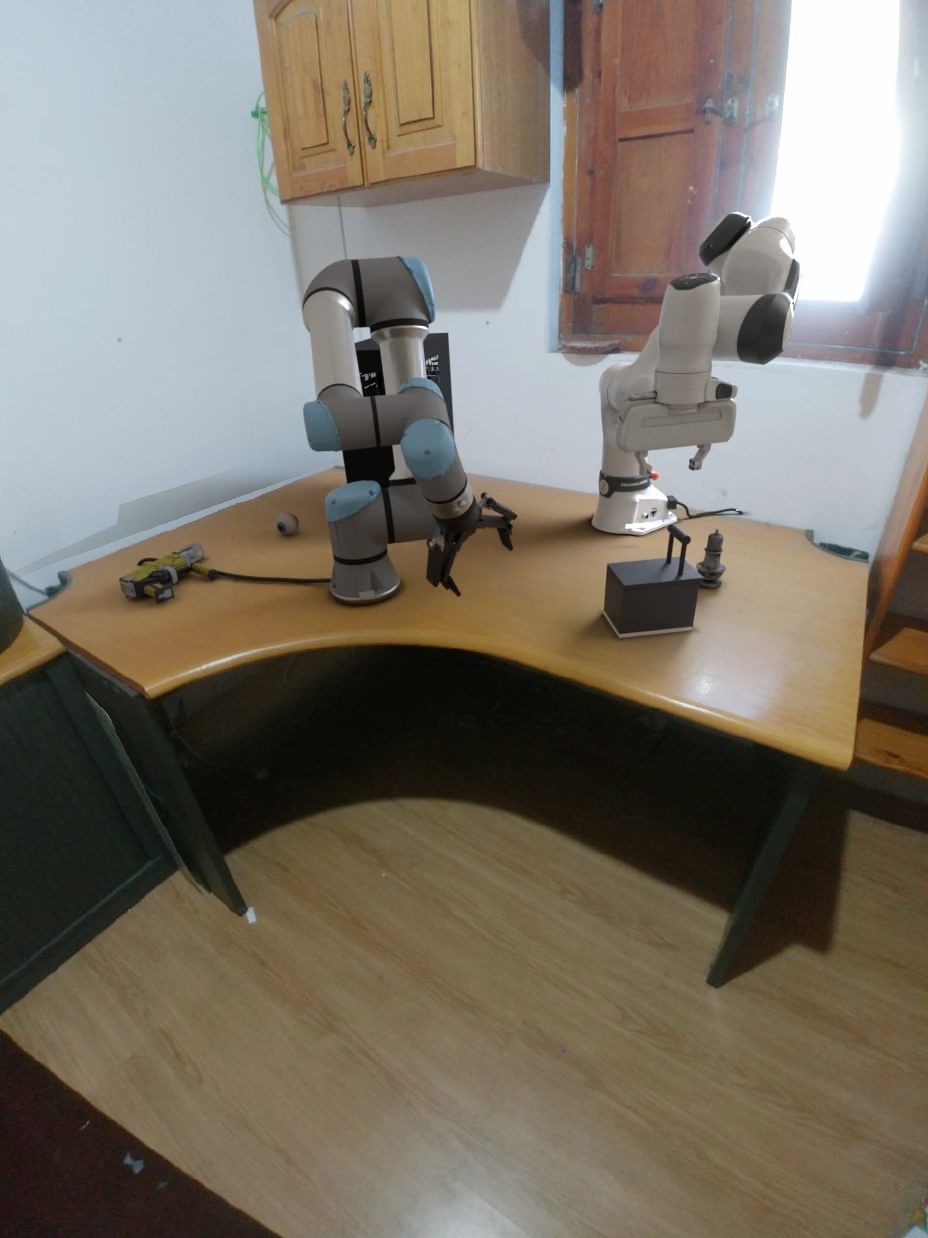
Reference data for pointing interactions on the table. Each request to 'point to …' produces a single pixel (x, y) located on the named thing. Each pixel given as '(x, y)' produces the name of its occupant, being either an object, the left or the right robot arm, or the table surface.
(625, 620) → the chest
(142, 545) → the table surface
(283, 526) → the eyeball
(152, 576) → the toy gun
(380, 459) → the black computer tower
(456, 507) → the left robot arm
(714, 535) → the salt shaker
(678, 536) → the lid
